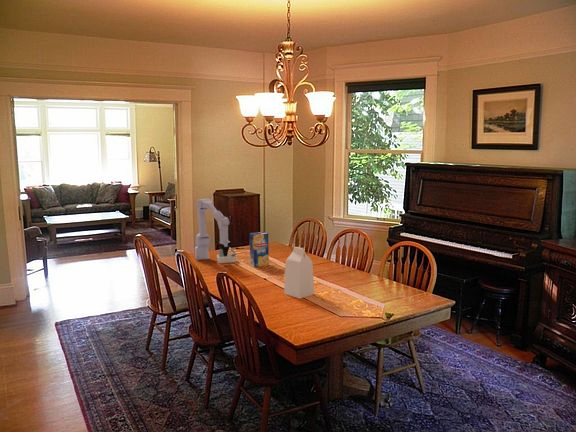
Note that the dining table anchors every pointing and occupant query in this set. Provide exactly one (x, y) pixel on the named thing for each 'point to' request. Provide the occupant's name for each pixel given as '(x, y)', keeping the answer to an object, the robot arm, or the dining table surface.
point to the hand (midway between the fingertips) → (224, 254)
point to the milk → (298, 274)
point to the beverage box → (259, 249)
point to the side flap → (232, 251)
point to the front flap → (221, 253)
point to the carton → (226, 258)
